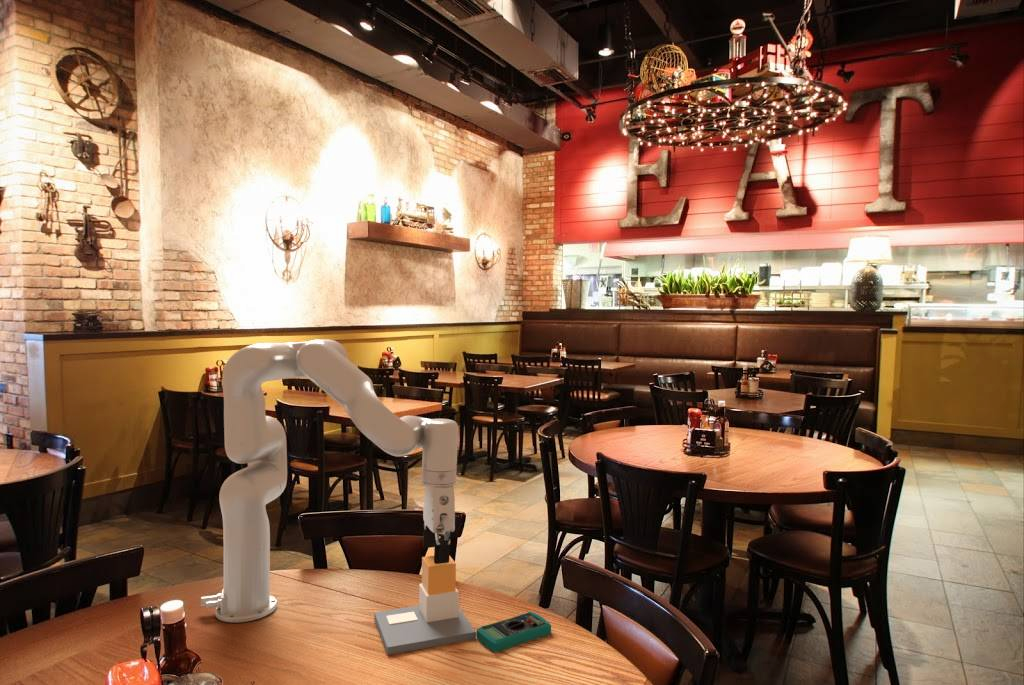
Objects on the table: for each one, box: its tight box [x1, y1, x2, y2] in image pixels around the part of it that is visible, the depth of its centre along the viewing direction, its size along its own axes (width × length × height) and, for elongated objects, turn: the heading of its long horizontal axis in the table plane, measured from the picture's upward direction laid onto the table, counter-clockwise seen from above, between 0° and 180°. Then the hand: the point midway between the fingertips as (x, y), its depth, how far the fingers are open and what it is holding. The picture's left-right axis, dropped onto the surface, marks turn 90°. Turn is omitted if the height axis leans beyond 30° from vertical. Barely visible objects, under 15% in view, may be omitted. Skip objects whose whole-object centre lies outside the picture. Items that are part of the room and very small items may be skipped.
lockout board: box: [373, 582, 477, 656], centre depth 130 cm, size 18×16×7 cm
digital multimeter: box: [476, 611, 552, 654], centre depth 127 cm, size 7×15×3 cm, turn 124°
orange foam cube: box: [421, 555, 457, 595], centre depth 134 cm, size 6×6×6 cm
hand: (435, 554), depth 134 cm, fingers open, 9 cm apart
